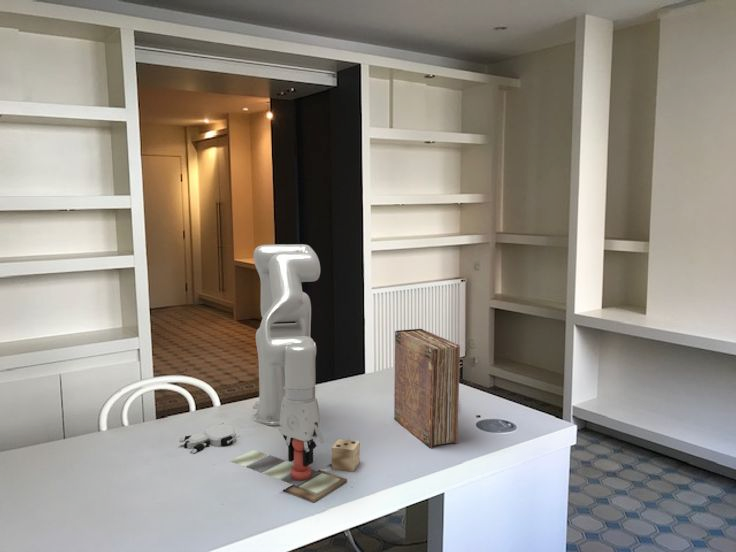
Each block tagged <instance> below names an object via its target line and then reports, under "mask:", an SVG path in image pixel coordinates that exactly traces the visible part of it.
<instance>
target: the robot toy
mask: <svg viewBox="0 0 736 552" xmlns="http://www.w3.org/2000/svg"><path fill="white" fill-rule="evenodd" d="M240 436H241V435H240V434H238V435H237V432H236V430H235V428H233V427H232V426H230V425H227V424H225V422H221V423H220V424H215V425H212V426H210V427H207V428H206V429H205V430H204V433H203V432H200V433H195V434H192V435H191V434H190V435H185V436H184V437H181V438H179V440H178V442H179V443H184V444H183V449H190V450H189V453H190V454H196V453H199V452H202V451H203V450H204V448H205V447H209V446H213V447H224V446H228V445H231V444H234V443H235V442H236V440H237V438H239V437H240Z"/></svg>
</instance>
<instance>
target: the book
mask: <svg viewBox="0 0 736 552" xmlns="http://www.w3.org/2000/svg"><path fill="white" fill-rule="evenodd" d="M460 354H461V345H460V344H458V343H456V342H454V341H451V340H450V339H447V338H445V337H442V336H440V335H437V334H435V333H432V332H430V331H427V330H425V329H422V328H415V329H414V328H413V329H401V330H395V331H394V394H393V395H394V402H393V403H394V406H393V407H394V411H393V412H394V413H393V415H394V417H393V419H394V421H396V422H397V423H398V424H399V425H401V426H402V427H403V428H404V429H405V430H407V431H408V432H409V433H411V435H413V436H414V437H415V438H417V439H418V440H419V441H420V442H421V443H422V444H424V445H425V446H426V447H427V448H429V449H430V448H431V449H432V447H434V446H438V445H439V446H440V445H445V444H446V445H447V444H451V443H454V444H458V435H459V434H458V433H459V431H458V430H459V429H458V428H459V397H460V396H459V395H460V361H461V360H460V359H461V358H460Z"/></svg>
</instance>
